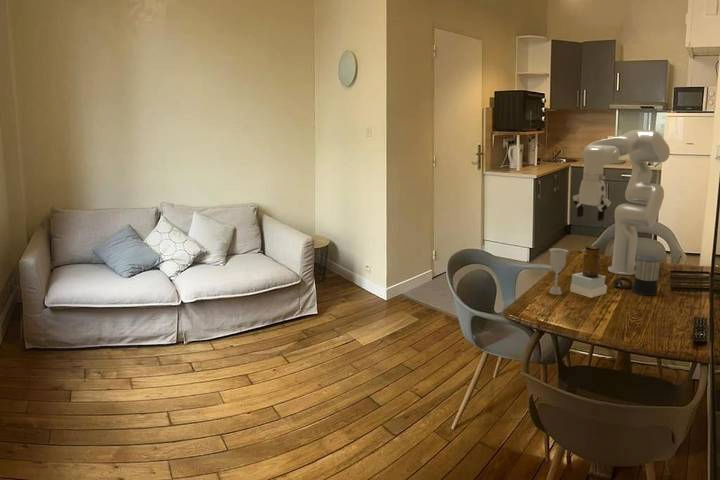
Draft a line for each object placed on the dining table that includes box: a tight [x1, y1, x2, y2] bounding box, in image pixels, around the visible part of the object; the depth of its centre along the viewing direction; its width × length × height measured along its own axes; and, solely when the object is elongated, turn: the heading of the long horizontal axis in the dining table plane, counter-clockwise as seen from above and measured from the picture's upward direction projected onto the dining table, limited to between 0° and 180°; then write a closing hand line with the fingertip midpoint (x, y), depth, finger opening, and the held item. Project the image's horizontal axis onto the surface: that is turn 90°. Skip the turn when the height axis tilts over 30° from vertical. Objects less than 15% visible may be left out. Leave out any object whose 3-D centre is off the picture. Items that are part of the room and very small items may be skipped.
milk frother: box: [613, 254, 662, 296], centre depth 247 cm, size 14×16×15 cm
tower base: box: [569, 282, 608, 299], centre depth 245 cm, size 10×10×4 cm
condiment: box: [578, 245, 607, 279], centre depth 242 cm, size 7×8×12 cm
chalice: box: [548, 247, 569, 296], centre depth 243 cm, size 7×7×18 cm
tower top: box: [571, 272, 606, 289], centre depth 244 cm, size 9×9×4 cm
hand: (590, 218), depth 248 cm, fingers open, 9 cm apart
